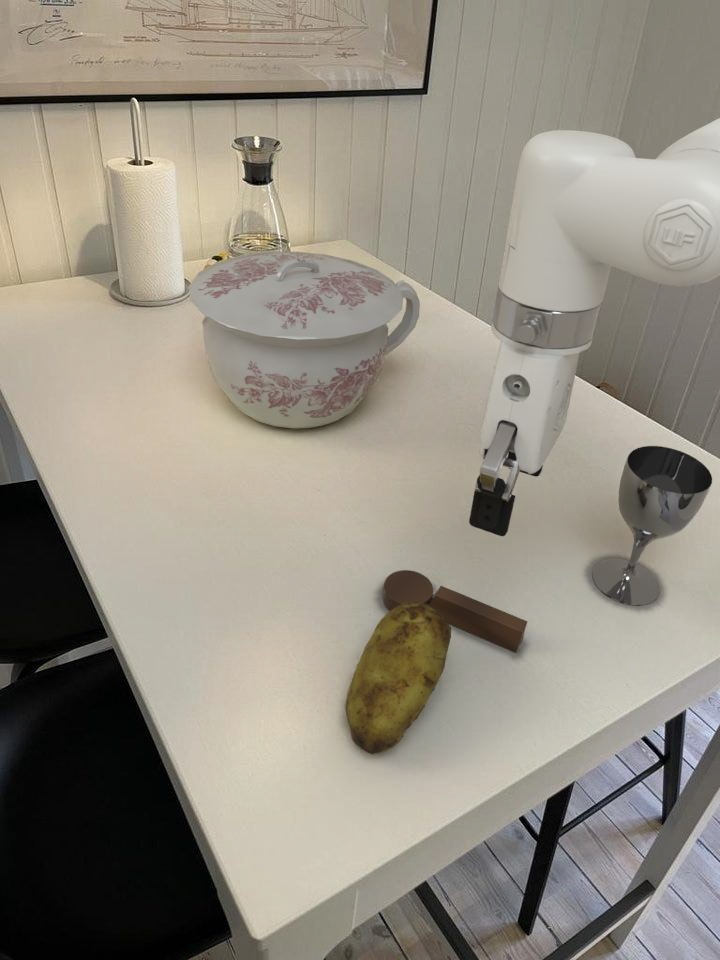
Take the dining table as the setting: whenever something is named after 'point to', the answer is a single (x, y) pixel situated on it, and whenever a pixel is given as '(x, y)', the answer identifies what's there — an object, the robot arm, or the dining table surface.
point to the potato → (396, 675)
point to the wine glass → (651, 515)
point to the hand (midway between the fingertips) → (506, 498)
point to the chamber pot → (299, 333)
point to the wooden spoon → (455, 609)
